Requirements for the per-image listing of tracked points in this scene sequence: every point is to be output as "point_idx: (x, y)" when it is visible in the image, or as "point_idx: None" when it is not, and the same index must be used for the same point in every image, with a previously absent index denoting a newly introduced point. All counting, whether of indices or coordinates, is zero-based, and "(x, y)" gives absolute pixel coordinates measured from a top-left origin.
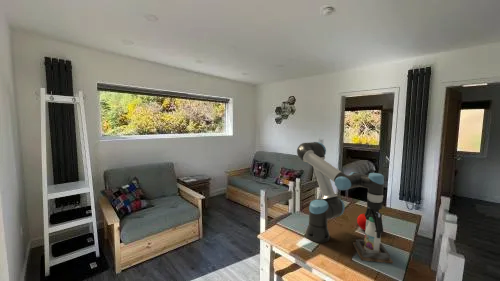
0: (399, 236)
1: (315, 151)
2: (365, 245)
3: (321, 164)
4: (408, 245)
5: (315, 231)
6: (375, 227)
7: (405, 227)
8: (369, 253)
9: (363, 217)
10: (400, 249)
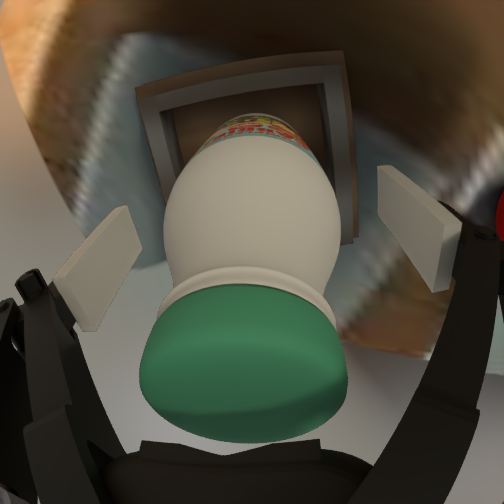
0: None
1: None
2: (229, 122)
3: None
4: (383, 348)
5: None
6: (47, 312)
7: (496, 353)
8: (151, 141)
9: None
10: (345, 317)
